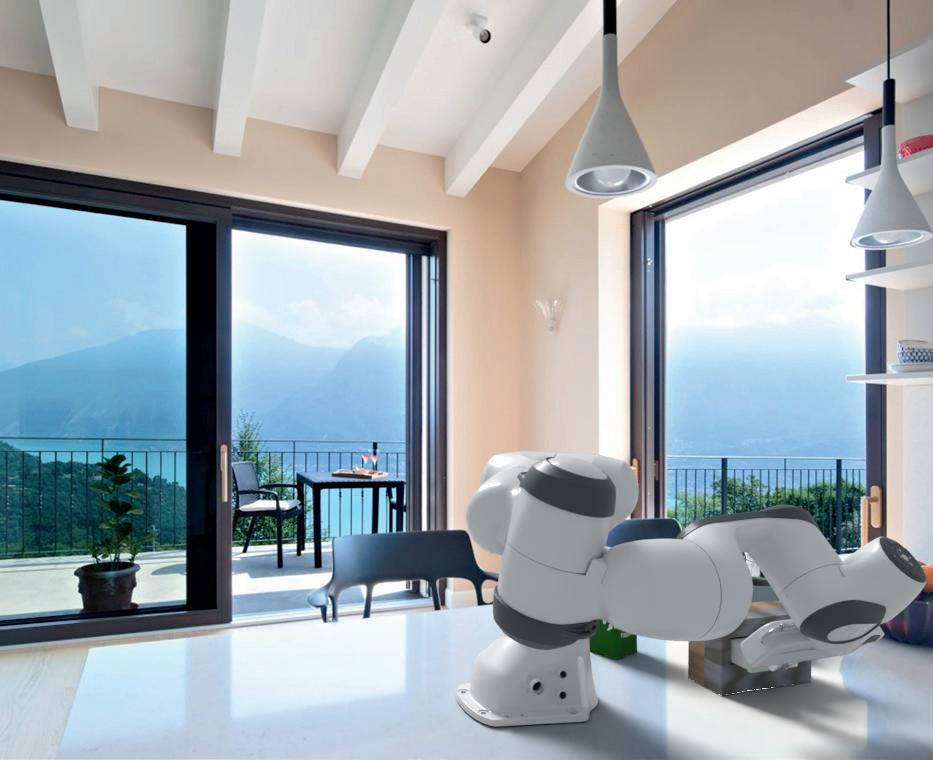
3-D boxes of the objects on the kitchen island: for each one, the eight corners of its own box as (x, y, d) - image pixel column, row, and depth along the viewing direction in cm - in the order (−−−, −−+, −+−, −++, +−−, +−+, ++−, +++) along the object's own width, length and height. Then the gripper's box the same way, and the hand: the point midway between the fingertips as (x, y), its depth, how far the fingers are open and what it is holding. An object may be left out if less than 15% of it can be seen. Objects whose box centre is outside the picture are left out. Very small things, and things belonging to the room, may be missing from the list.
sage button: (751, 673, 107) (751, 647, 107) (728, 662, 112) (729, 638, 112) (770, 670, 109) (770, 645, 109) (747, 660, 113) (747, 635, 113)
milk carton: (619, 662, 124) (621, 553, 125) (578, 649, 131) (581, 545, 132) (644, 652, 130) (645, 547, 131) (604, 640, 137) (606, 540, 138)
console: (721, 696, 110) (722, 621, 111) (688, 678, 117) (688, 608, 118) (811, 682, 117) (811, 612, 118) (774, 666, 125) (774, 600, 126)
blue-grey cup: (758, 649, 134) (758, 588, 135) (717, 634, 143) (718, 577, 144) (791, 642, 139) (791, 583, 140) (749, 628, 148) (749, 573, 149)
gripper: (788, 648, 91) (734, 694, 99) (893, 634, 98) (834, 678, 107) (762, 605, 95) (712, 653, 104) (864, 595, 103) (810, 640, 111)
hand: (775, 665), depth 105 cm, fingers closed
